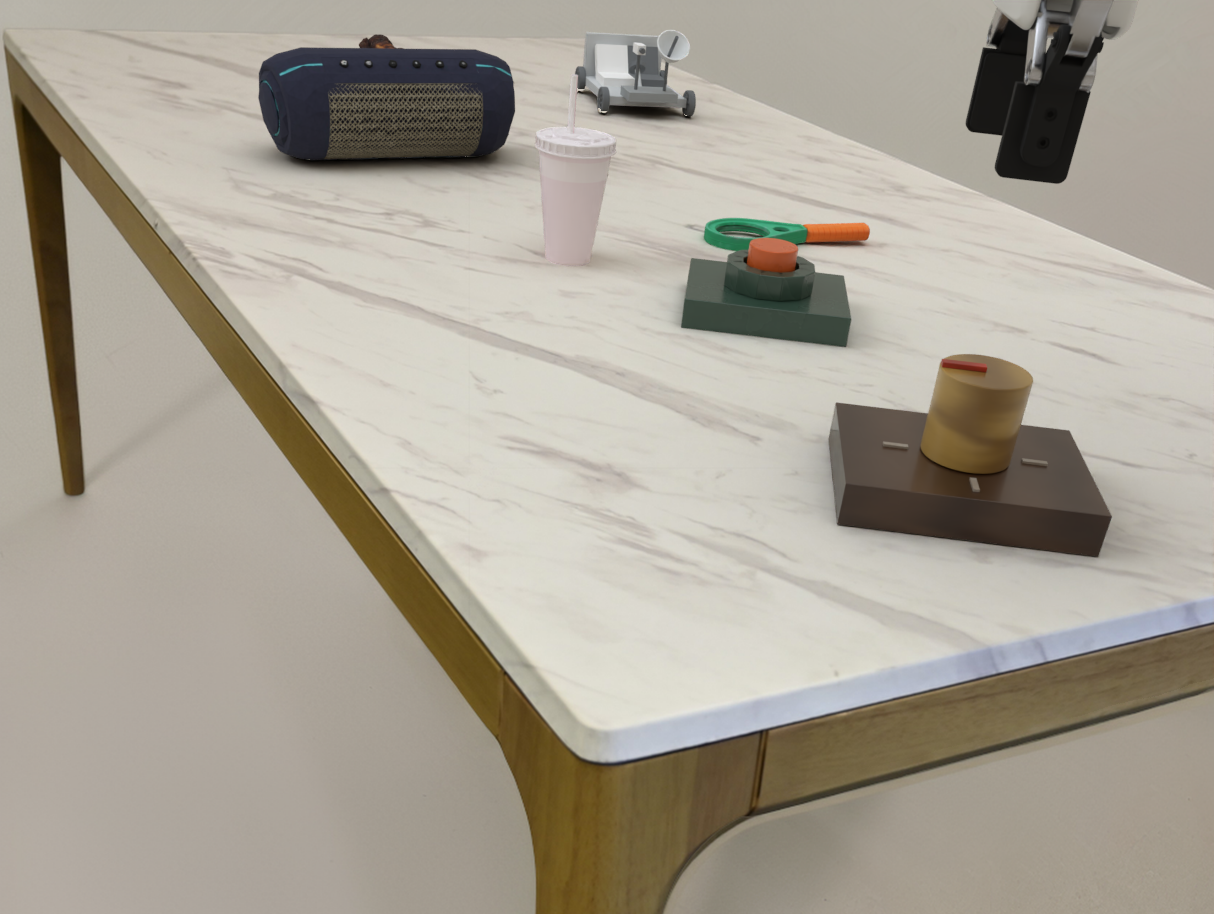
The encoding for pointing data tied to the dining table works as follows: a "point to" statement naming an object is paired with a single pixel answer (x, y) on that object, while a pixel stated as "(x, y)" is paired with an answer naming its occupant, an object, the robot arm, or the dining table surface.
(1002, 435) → the dial
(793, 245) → the button
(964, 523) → the holder base
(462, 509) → the dining table surface
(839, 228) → the magnifying glass
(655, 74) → the toy car
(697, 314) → the button box
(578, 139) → the smoothie
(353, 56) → the portable speaker
